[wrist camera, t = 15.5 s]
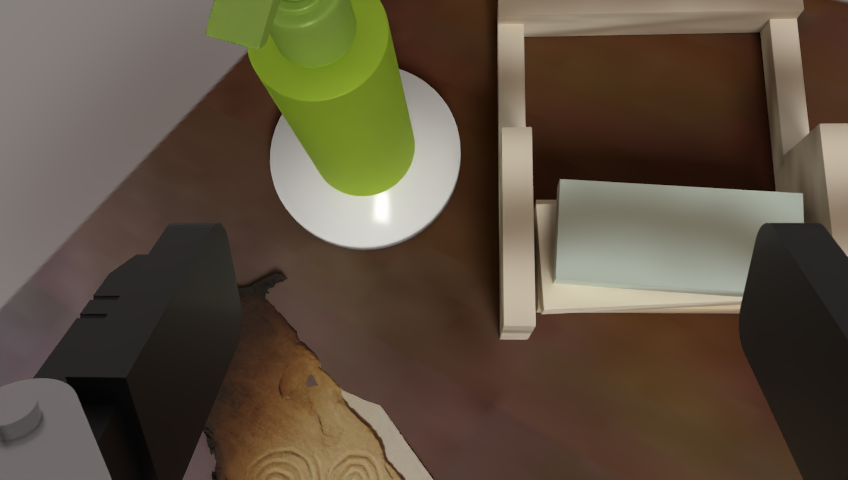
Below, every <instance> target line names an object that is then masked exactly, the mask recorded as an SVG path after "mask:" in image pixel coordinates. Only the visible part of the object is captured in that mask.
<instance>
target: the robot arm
mask: <svg viewBox="0 0 848 480" xmlns="http://www.w3.org/2000/svg"><path fill="white" fill-rule="evenodd" d="M241 328H242V309H241V302H240V297H239V292H238V287H237V282H236V277H235V272H234V267H233V262H232V257H231V252H230V247H229V242H228V237H227V233H226V230H225V228H224V227H223V225H222V224H220V223H171V224H169V225H168V226H167V228H166V229H165V231H164V232H163V233H162V235H161V236H160V238H159V239H158V241H157V242H156V244H155V245H154V247H153V248H152V250H151V251H150V253H149V254H148V255H135V256H134V257H133V258H131V259H130V260H128V261H127V262H125V263H124V264H123V265H121V266H120V267H118V268H117V269H115V270H114V271H113V272H111V273H110V274H109V275H108V276H107V278H106V279H105V280H104V282H103V283H102V285H101V286H100V287H99V289H98V290H97V291H96V293H95V294H94V299H93V300H90V301H89V302H88V304H87V305H86V306H85V308H84V309H83V311H82V312H81V313H80V318H77V319H76V320H75V322H74V323H73V324H72V326H71V327H70V328H69V330H68V331H67V332H66V334H65V335H64V337H63V338H62V339H61V341H60V342H59V343H58V345H57V346H56V348H55V349H54V350H53V352H52V353H51V354H50V356H49V357H48V358H47V360H46V361H45V363H44V364H43V365H42V367H41V368H40V369H39V371H38V372H37V374H36V375H35V376H34V378H33V379H27V380H22V381H18V382H14V383H11V384H8V385H5V386H2V387H0V480H182V479H183V477H184V474H185V472H186V470H187V467H188V465H189V462H190V460H191V458H192V455H193V453H194V450H195V448H196V445H197V443H198V441H199V438H200V436H201V433H202V431H203V429H204V426H205V424H206V421H207V419H208V417H209V414H210V412H211V409H212V407H213V404H214V402H215V400H216V397H217V395H218V392H219V390H220V388H221V385H222V383H223V380H224V378H225V376H226V373H227V371H228V368H229V366H230V363H231V361H232V359H233V356H234V354H235V351H236V349H237V347H238V344H239V340H240V335H241ZM739 333H740V340H741V344H742V348H743V351H744V353H745V355H746V357H747V359H748V362H749V364H750V366H751V368H752V370H753V372H754V375H755V377H756V379H757V381H758V383H759V385H760V387H761V390H762V392H763V394H764V396H765V398H766V400H767V402H768V405H769V407H770V409H771V411H772V413H773V415H774V417H775V420H776V422H777V424H778V426H779V428H780V430H781V432H782V435H783V437H784V439H785V441H786V443H787V445H788V447H789V450H790V452H791V454H792V456H793V458H794V460H795V462H796V465H797V467H798V469H799V471H800V473H801V475H802V477H803V480H848V257H847V255H846V254H845V253H844V251H843V250H842V249H841V247H840V246H839V245H838V244H837V242H836V241H835V240H834V238H833V237H832V236H831V235H830V233H829V232H828V231H827V229H826V228H825V227H824V226H823V225H822V224H820V223H765V224H763V225H762V226H761V227H760V229H759V231H758V233H757V236H756V240H755V244H754V249H753V253H752V258H751V262H750V267H749V271H748V276H747V280H746V285H745V289H744V293H743V298H742V302H741V307H740V313H739Z"/></svg>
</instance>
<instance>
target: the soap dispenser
mask: <svg viewBox="0 0 848 480" xmlns="http://www.w3.org/2000/svg"><path fill="white" fill-rule="evenodd" d="M206 35H208V36H210V37H213V38H217V39H220V40H224V41H227V42H231V43H234V44H238V45H241V46H245V47H247V50H248V55H249V59H250V61H251V64H252V66H253V68H254V70H255V72H256V73H257V75H258V77H259V78H260V80H261V81H262V83H263V84H264V86H265V88H266V89H267V91H268V92H269V94H270V96H271V97H272V99H273V100H274V102H275V103H276V105H277V107H278V108H279V110H280V111H281V113H282V115H283V116H284V118H285V119H286V121H287V122H288V124H289V126H290V127H291V129H292V130H293V132H294V134H295V135H296V137H297V138H298V140H299V141H300V143H301V145H302V146H303V148H304V149H305V151H306V153H307V154H308V156H309V157H310V159H311V160H312V162H313V164H314V165H315V167H316V168H317V170H318V172H319V173H320V175H321V176H322V178H323V179H324V180H325V181H326V182H327V183H328V184H329V185H330V186H332V187H333V188H335V189H336V190H338V191H340V192H342V193H345V194H348V195H353V196H371V195H375V194H379V193H382V192H384V191H386V190H388V189H390V188H391V187H393V186H394V185H396V184H397V183H398V182H399V181H400V180H401V179H402V178H403V177H404V175H405V174H406V173H407V171H408V169H409V168H410V166H411V163H412V160H413V157H414V152H415V140H414V134H413V130H412V126H411V121H410V117H409V112H408V108H407V103H406V99H405V94H404V90H403V86H402V81H401V77H400V72H399V68H398V63H397V59H396V54H395V50H394V45H393V41H392V37H391V32H390V28H389V23H388V19H387V15H386V12H385V9H384V7H383V5H382V3H381V2H380V0H214V3H213V7H212V10H211V14H210V17H209V21H208V25H207V29H206Z"/></svg>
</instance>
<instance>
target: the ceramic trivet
mask: <svg viewBox="0 0 848 480" xmlns="http://www.w3.org/2000/svg"><path fill="white" fill-rule="evenodd" d="M399 72H400V77H401V81H402V86H403V90H404V94H405V99H406V103H407V108H408V112H409V117H410V121H411V126H412V130H413V134H414V140H415V152H414V157H413V160H412V163H411V166H410V168H409V169H408V171H407V173H406V174H405V175H404V177H403V178H402V179H401V180H400V181H399V182H398V183H397V184H396V185H394V186H393V187H391V188H390V189H388V190H386V191H384V192H382V193H379V194H375V195H371V196H353V195H348V194H345V193H342V192H340V191H338V190H336V189H335V188H333V187H332V186H330V185H329V184H328V183H327V182H326V181H325V180H324V179H323V178H322V176H321V175H320V173H319V172H318V170H317V168H316V167H315V165H314V164H313V162H312V160H311V159H310V157H309V156H308V154H307V153H306V151H305V149H304V148H303V146H302V145H301V143H300V141H299V140H298V138H297V137H296V135H295V134H294V132H293V130H292V129H291V127H290V126H289V124H288V122H287V121H286V119H285V118H284V116H283V115H281V117H280V119H279V121H278V124H277V126H276V128H275V131H274V135H273V138H272V143H271V150H270V167H271V175H272V179H273V182H274V186H275V189H276V191H277V193H278V196H279V198H280V200H281V201H282V203H283V204H284V206H285V208H286V209H287V210H288V211H289V213H290V214H291V215H292V216H293V217H294V219H295V220H296V221H297V222H298V223H299V224H300V225H301V226H302V227H303V228H304V229H305V230H307V231H308V232H309V233H311V234H312V235H314V236H315V237H317V238H319V239H321V240H323V241H325V242H326V243H329V244H332V245H335V246H338V247H341V248H346V249H351V250H377V249H382V248H388V247H391V246H394V245H397V244H400V243H403V242H405V241H407V240H409V239H411V238H413V237H414V236H416V235H418V234H419V233H421V232H422V231H424V230H425V229H426V228H427V227H428V226H430V225H431V224H432V223H433V222H434V221H435V220H436V219H437V218H438V217H439V215H440V214H441V213H442V212H443V210H444V209H445V207H446V206H447V205H448V203H449V201H450V199H451V197H452V195H453V193H454V190H455V188H456V185H457V182H458V178H459V173H460V164H461V152H460V138H459V133H458V129H457V126H456V123H455V120H454V117H453V115H452V113H451V111H450V109H449V107H448V106H447V105H446V103H445V102H444V100H443V99H442V97H441V96H440V95H439V94H438V93H437V92H436V91H435V90H434V89H433V88H432V87H431V86H429V85H428V84H427V83H426V82H424V81H423V80H421V79H420V78H418V77H416V76H415V75H413V74H411V73H408V72H406V71H404V70H401V69H399Z"/></svg>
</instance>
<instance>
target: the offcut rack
mask: <svg viewBox="0 0 848 480" xmlns="http://www.w3.org/2000/svg"><path fill="white" fill-rule="evenodd" d="M803 10H804V5H803V0H498V7H497V64H498V177H499V290H500V339H521V340H527V339H528V338H529V336H530V334H531V333H532V331H533V330H534V328H535V326H536V312H541V314H556V313H740V307H741V302H742V298H743V293H744V289H745V285H746V280H747V276H748V271H749V267H750V262H751V258H752V253H753V249H754V244H755V240H756V236H757V233H758V231H759V229H760V227H761V226H762V225H763V224H765V223H820V224H822V225H823V226H824V227H825V228H826V229H827V231H828V232H829V233H830V235H831V236H832V237H833V238H834V240H835V241H836V242H837V244H838V245H839V246H840V247H841V249H842V250H843V251H844V253H845V254H846V255H847V257H848V124H819V125H818V126H817V127H815V128H814V129H813V130H812V131H811V132H810V133H809V125H808V116H807V107H806V98H805V89H804V80H803V71H802V62H801V53H800V44H799V35H798V26H797V18H798V16H799V15H800V14H801V12H802V11H803ZM748 32H760V36H761V46H762V56H763V66H764V76H765V87H766V97H767V107H768V117H769V127H770V137H771V148H772V158H773V168H774V178H775V188H776V191H775V192H771V191H754V190H738V189H721V188H704V187H687V186H670V185H653V184H636V183H619V182H603V181H586V180H569V179H560V181H559V184H558V187H557V200H536V202H535V206H534V209H533V159H532V127H526V124H525V68H524V37H539V36H591V35H643V34H696V33H748ZM534 234H535V259H534ZM535 284H536V309H535Z"/></svg>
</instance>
